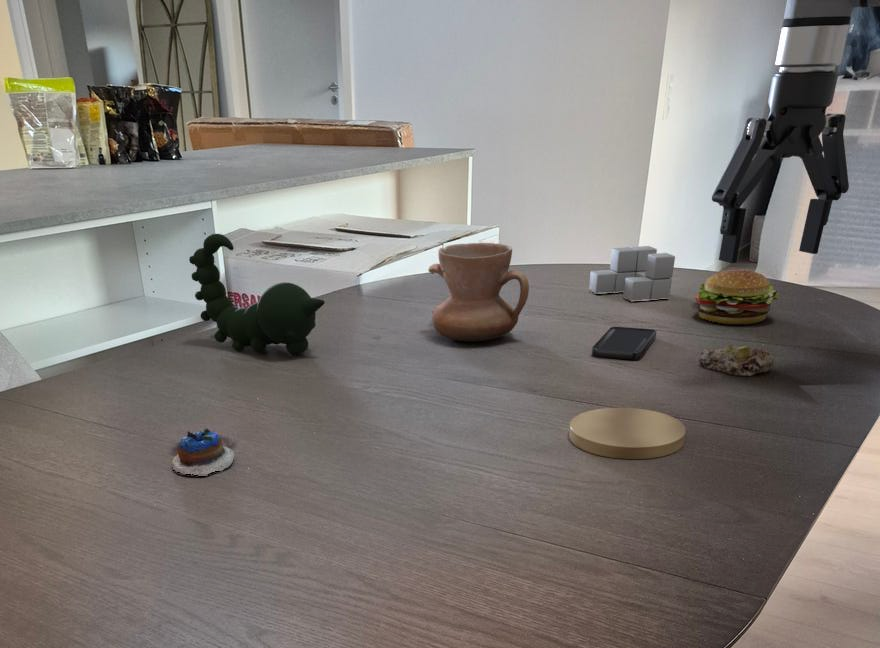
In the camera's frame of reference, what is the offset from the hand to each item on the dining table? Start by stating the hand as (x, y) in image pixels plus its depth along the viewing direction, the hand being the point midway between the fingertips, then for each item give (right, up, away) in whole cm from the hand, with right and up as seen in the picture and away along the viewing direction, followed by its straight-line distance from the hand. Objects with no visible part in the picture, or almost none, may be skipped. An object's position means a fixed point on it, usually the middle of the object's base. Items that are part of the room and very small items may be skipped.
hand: (768, 257), depth 116 cm
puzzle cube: (-5, +17, +54) cm, 57 cm away
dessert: (-74, -31, -13) cm, 82 cm away
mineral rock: (0, -11, +12) cm, 17 cm away
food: (+10, +6, +37) cm, 39 cm away
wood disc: (-22, -27, -10) cm, 37 cm away
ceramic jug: (-37, 0, +31) cm, 48 cm away
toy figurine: (-73, -3, +28) cm, 79 cm away
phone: (-13, -4, +24) cm, 27 cm away
